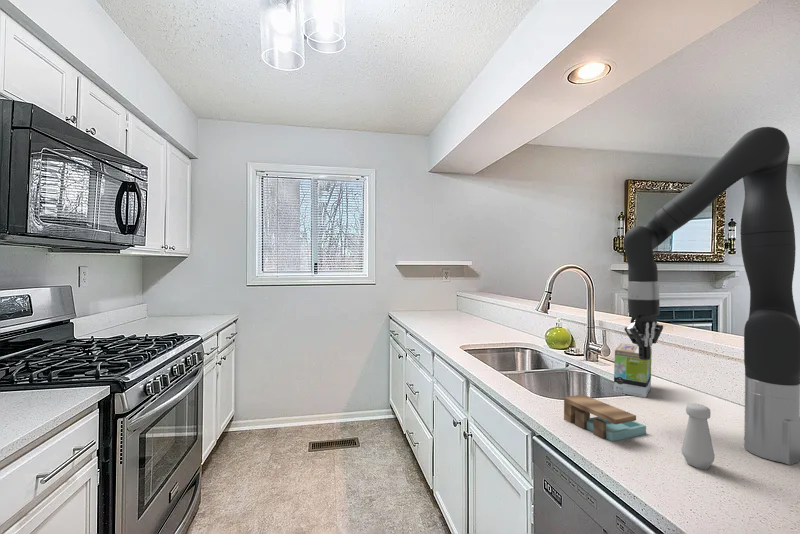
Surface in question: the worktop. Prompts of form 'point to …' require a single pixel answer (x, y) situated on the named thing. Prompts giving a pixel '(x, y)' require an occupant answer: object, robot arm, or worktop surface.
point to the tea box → (631, 371)
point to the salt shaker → (698, 437)
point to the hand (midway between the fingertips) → (644, 359)
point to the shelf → (583, 405)
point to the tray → (619, 429)
